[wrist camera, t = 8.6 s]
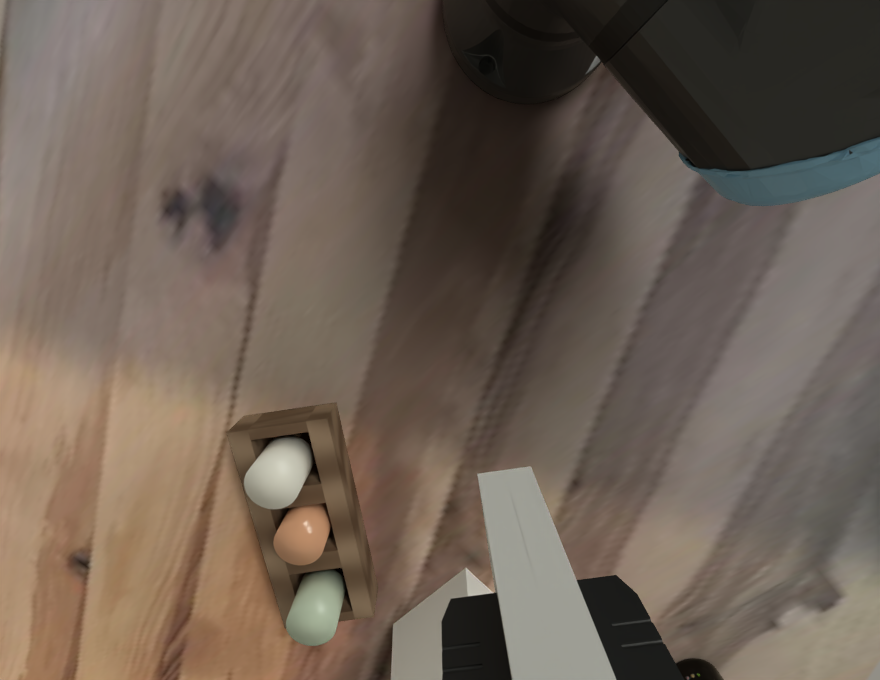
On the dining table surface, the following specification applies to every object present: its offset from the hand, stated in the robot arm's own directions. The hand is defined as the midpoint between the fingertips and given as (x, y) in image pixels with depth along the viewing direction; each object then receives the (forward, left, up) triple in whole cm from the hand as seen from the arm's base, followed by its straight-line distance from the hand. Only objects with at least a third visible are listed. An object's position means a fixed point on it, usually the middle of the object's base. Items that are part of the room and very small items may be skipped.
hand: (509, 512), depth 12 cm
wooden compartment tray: (+20, -19, -32) cm, 43 cm away
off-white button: (+12, -19, -29) cm, 37 cm away
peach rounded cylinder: (+20, -19, -31) cm, 42 cm away
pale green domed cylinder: (+28, -19, -29) cm, 45 cm away
